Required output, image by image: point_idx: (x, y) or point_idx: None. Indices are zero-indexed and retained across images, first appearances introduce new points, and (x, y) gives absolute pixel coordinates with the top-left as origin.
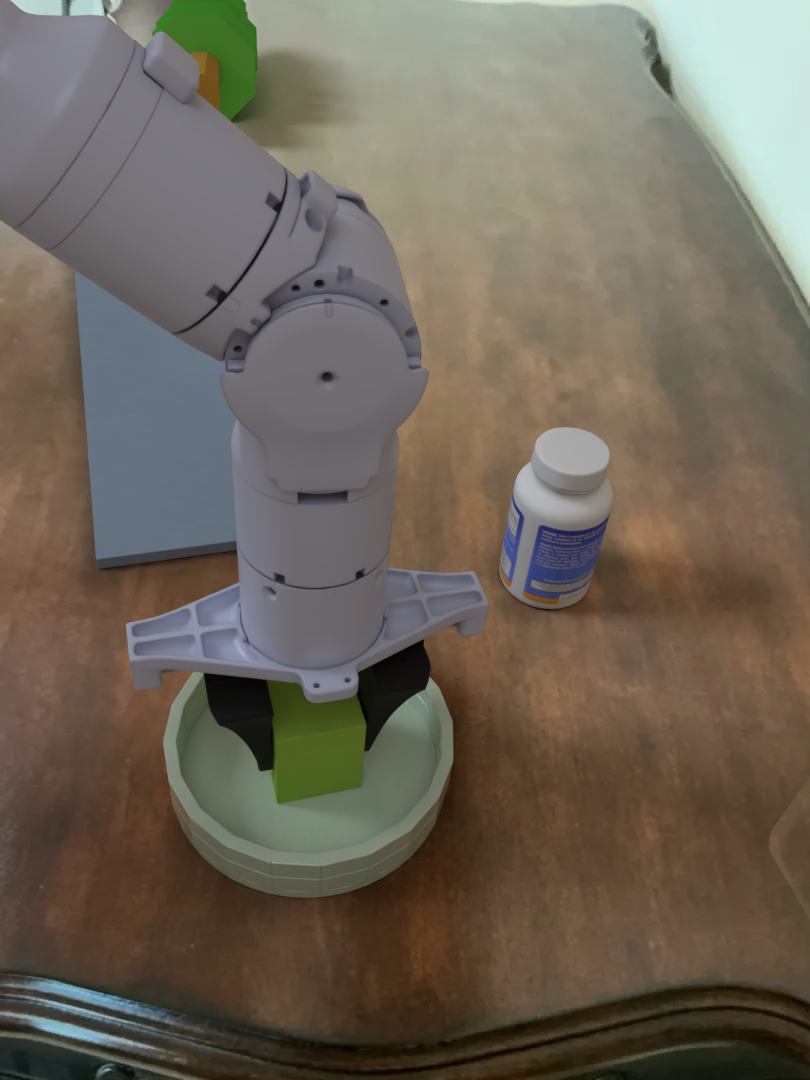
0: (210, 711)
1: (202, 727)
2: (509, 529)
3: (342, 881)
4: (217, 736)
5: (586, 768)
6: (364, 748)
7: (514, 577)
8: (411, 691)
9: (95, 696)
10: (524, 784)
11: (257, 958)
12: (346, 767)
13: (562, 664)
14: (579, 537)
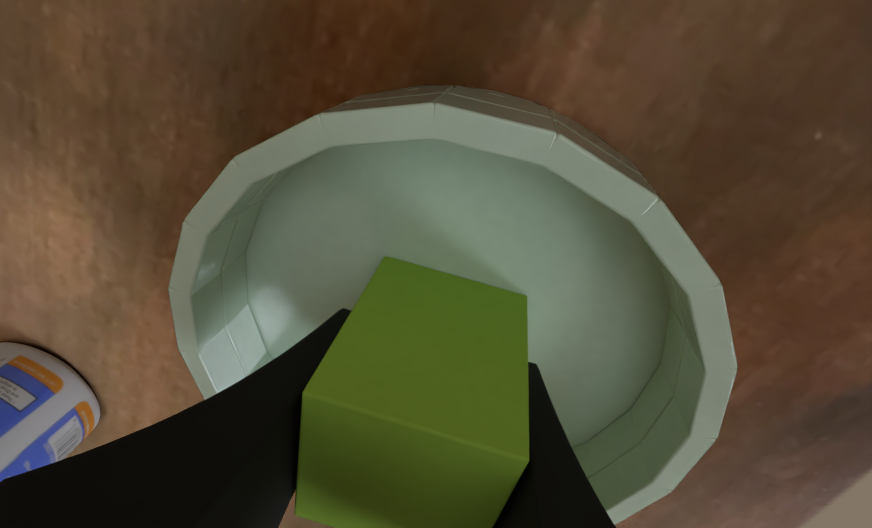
0: None
1: None
2: None
3: (504, 101)
4: None
5: (17, 106)
6: (346, 318)
7: (59, 416)
8: (51, 498)
9: (655, 520)
10: (126, 130)
11: (730, 45)
12: (393, 304)
13: (36, 277)
14: None
